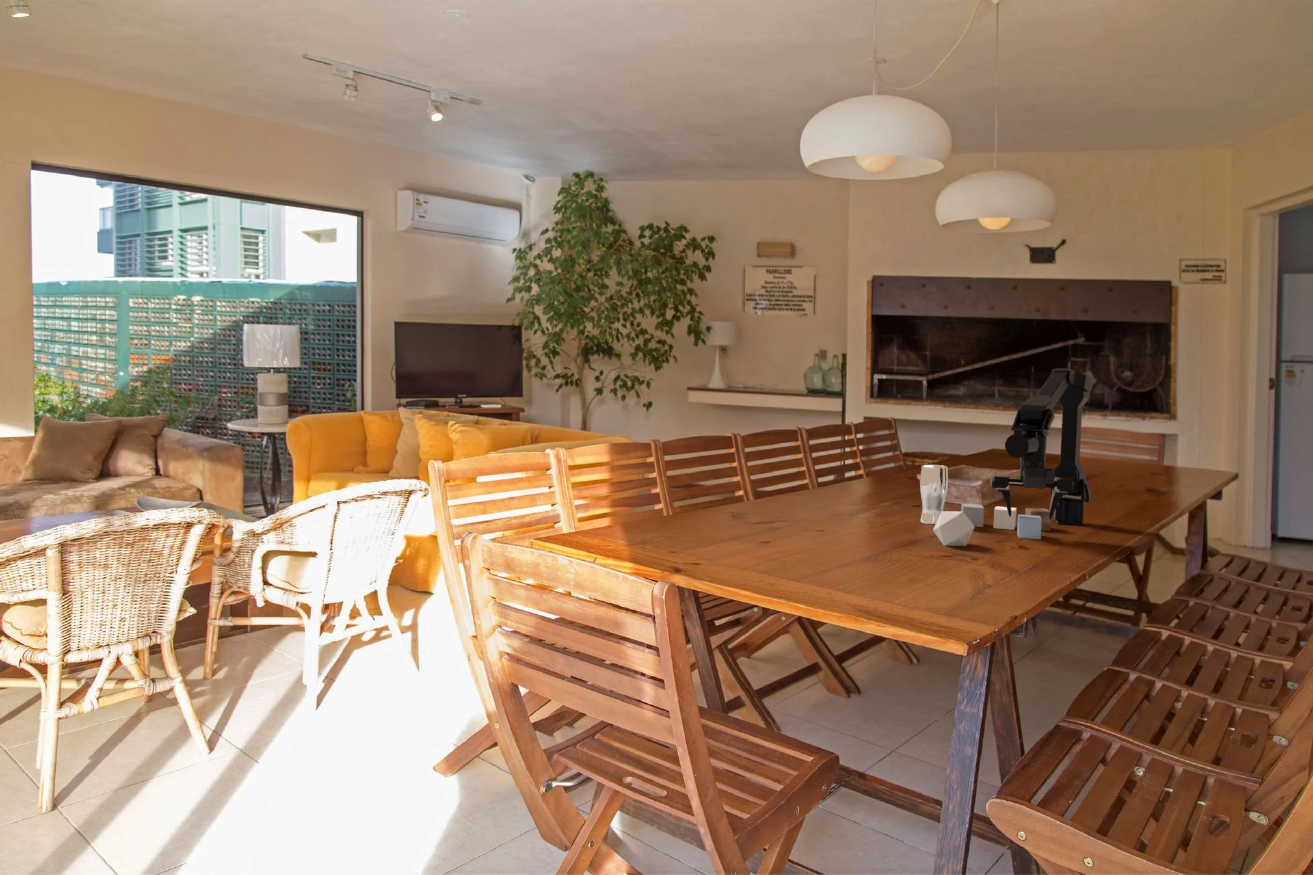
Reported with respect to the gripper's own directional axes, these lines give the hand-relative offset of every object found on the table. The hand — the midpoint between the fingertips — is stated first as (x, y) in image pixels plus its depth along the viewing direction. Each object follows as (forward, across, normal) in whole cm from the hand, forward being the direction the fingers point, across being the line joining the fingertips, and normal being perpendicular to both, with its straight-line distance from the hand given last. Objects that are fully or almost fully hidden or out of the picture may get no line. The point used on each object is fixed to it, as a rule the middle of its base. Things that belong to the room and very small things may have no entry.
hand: (1029, 517), depth 233 cm
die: (+5, -18, -17) cm, 25 cm away
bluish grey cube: (+5, 0, 0) cm, 5 cm away
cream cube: (+5, -5, +11) cm, 13 cm away
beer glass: (+5, -23, +11) cm, 26 cm away
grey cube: (+5, -13, +12) cm, 18 cm away
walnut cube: (+5, +3, +12) cm, 13 cm away
